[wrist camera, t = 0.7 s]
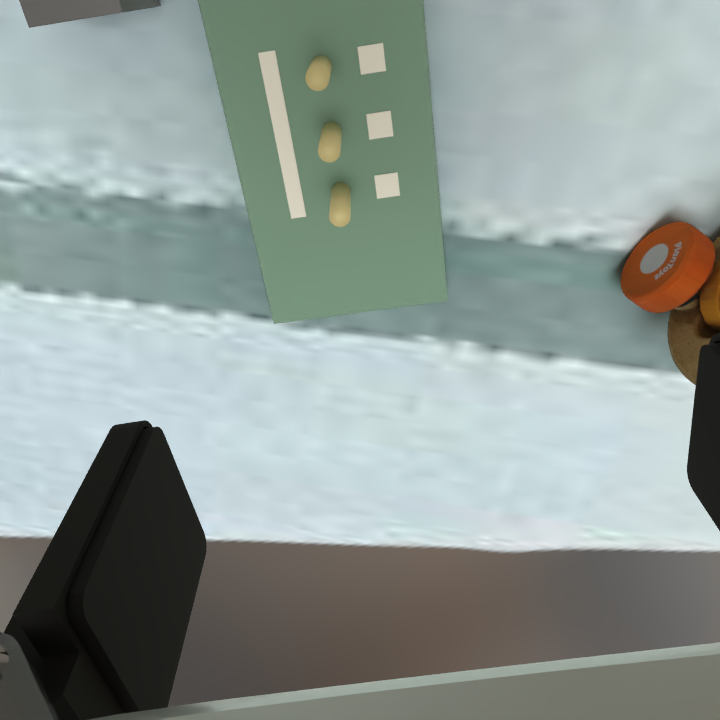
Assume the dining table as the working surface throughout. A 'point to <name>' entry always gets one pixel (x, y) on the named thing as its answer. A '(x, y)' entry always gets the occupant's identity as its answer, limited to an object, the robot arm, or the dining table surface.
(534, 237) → the dining table surface
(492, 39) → the dining table surface
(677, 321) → the toy helicopter
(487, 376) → the dining table surface
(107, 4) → the block
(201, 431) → the dining table surface
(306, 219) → the header board
